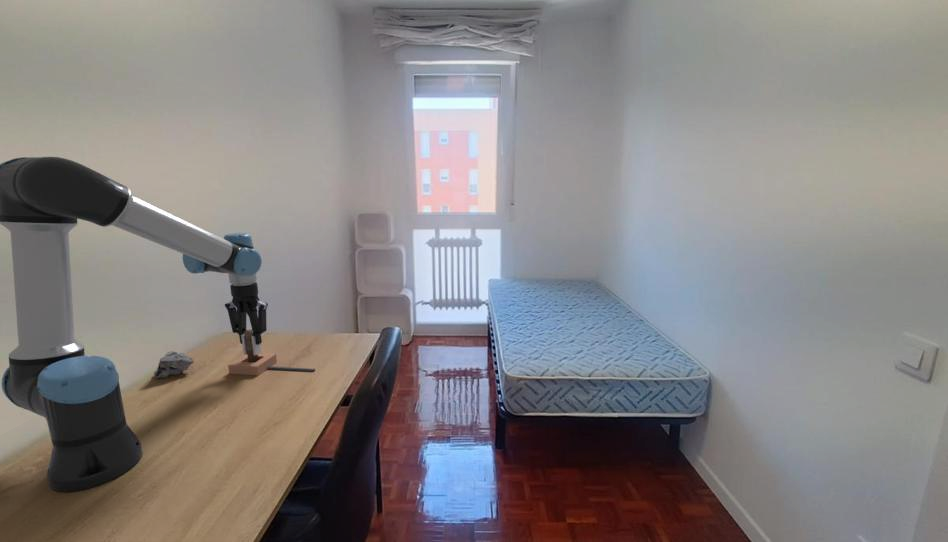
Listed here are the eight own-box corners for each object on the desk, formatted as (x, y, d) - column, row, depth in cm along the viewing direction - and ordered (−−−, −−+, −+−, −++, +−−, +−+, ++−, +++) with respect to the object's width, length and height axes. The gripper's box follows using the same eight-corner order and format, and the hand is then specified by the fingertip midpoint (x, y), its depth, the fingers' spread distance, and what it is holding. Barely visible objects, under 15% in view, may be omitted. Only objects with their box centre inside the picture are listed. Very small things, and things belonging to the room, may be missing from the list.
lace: (313, 371, 136) (313, 369, 136) (267, 369, 138) (267, 367, 138) (315, 370, 137) (315, 368, 137) (268, 368, 139) (268, 366, 139)
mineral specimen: (176, 384, 139) (170, 389, 130) (152, 371, 136) (144, 375, 127) (198, 359, 142) (193, 362, 133) (175, 345, 140) (169, 347, 131)
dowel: (255, 368, 138) (251, 333, 135) (246, 367, 138) (242, 332, 136) (261, 364, 141) (257, 329, 138) (252, 363, 141) (248, 329, 139)
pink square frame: (258, 375, 134) (257, 366, 133) (229, 373, 135) (228, 364, 134) (276, 362, 144) (275, 353, 143) (249, 360, 145) (248, 352, 144)
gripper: (274, 280, 136) (281, 349, 141) (228, 279, 138) (237, 347, 143) (259, 286, 129) (268, 359, 134) (211, 285, 131) (221, 356, 136)
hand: (252, 353), depth 138 cm, fingers closed on dowel, 3 cm apart
